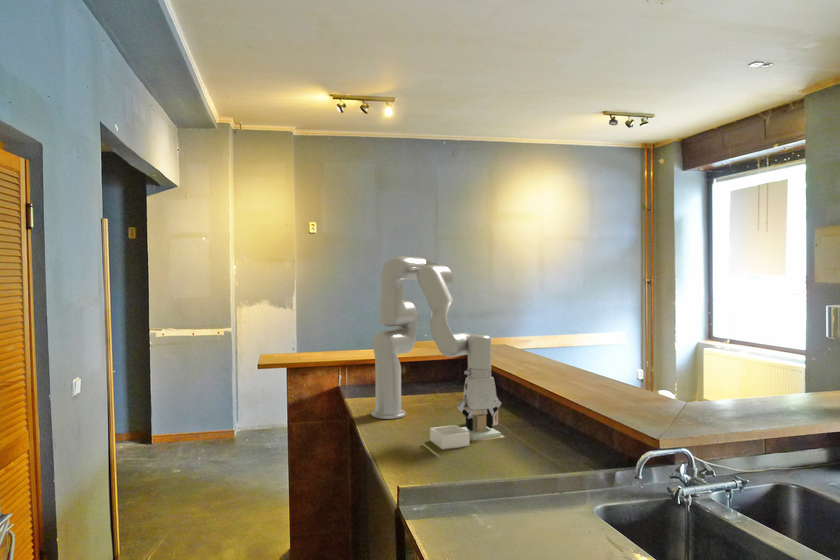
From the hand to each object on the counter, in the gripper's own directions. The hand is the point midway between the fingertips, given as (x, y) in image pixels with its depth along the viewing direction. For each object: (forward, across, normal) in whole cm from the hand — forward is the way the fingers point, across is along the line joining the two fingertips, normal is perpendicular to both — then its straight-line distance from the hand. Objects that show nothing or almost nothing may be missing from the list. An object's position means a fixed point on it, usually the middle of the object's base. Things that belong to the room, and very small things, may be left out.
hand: (479, 428), depth 166 cm
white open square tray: (+2, -13, -5) cm, 14 cm away
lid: (+2, 0, 0) cm, 2 cm away
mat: (+2, 0, 0) cm, 2 cm away
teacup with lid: (+3, +8, +12) cm, 15 cm away
